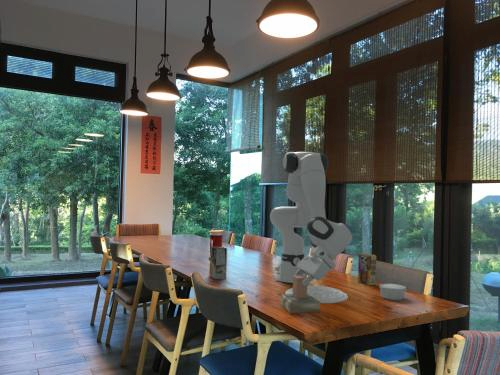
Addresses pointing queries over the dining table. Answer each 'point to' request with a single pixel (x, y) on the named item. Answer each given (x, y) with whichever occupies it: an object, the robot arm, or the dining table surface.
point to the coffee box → (218, 262)
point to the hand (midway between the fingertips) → (298, 281)
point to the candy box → (367, 269)
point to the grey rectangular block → (299, 287)
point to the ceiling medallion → (324, 294)
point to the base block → (300, 303)
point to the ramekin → (392, 291)
